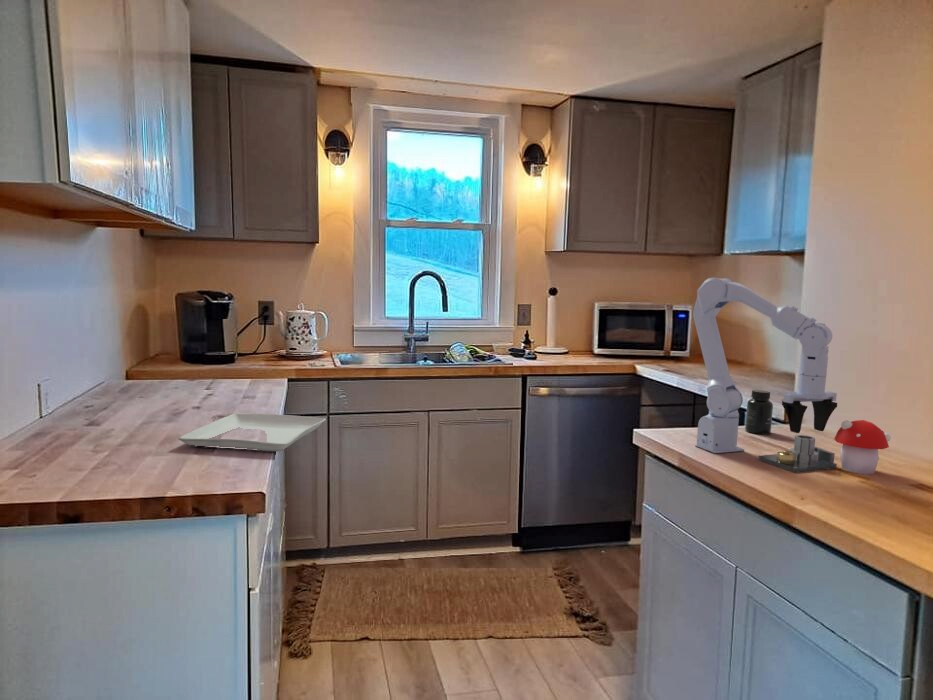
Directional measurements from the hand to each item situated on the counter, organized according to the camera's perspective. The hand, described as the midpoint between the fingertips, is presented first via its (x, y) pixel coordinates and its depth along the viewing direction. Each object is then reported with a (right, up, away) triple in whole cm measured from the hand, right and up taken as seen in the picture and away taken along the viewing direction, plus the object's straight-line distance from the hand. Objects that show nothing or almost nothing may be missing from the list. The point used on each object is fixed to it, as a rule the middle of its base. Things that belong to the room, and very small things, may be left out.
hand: (806, 431), depth 150 cm
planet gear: (0, -7, +1) cm, 7 cm away
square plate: (-135, -4, +11) cm, 135 cm away
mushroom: (+11, -9, -3) cm, 14 cm away
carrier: (-2, -8, +1) cm, 8 cm away
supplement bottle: (+3, -5, +33) cm, 33 cm away
